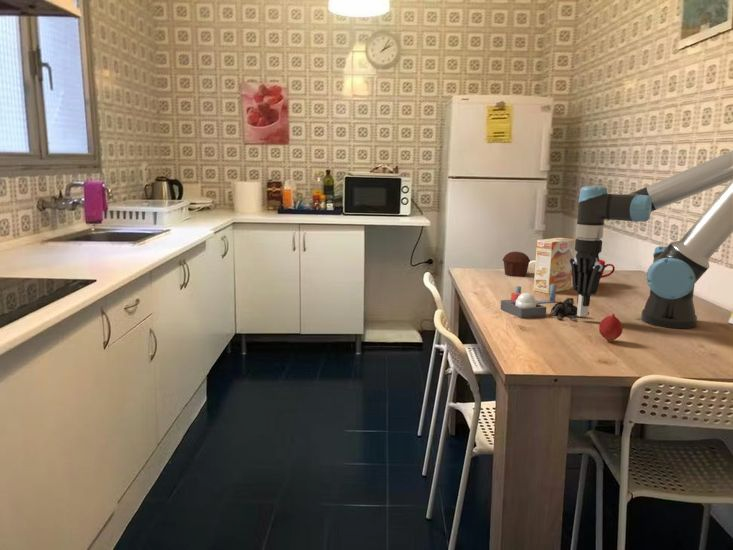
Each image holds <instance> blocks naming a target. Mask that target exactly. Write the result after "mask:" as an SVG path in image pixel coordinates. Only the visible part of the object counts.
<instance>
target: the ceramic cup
mask: <svg viewBox="0 0 733 550" xmlns="http://www.w3.org/2000/svg"><path fill="white" fill-rule="evenodd" d="M574 258H575V257H573V259H574ZM599 262H600V264H601V265H605V268H604V270H603V271H602V274H601V277H600V280H601V279H603V278H607V277H609V276H611V275H612V274H613V273H614V272H615V269H616V268H615V265H614V264H612V263H606V261H605V260H603V259H600V258H599ZM607 267H612V270H611V271H610V272H609V273H607V274H604V271H605V269H607ZM603 274H604V275H603ZM571 276H572V271H571Z"/></svg>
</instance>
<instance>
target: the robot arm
mask: <svg viewBox="0 0 733 550" xmlns="http://www.w3.org/2000/svg"><path fill="white" fill-rule="evenodd" d="M728 182H729V183H728ZM725 183H728V184H727V185H726V186H725V187H724V189H723V190H722V191H721V192H720V193H719V194H718V196H717V197H715V199H714V200H713V201H712V202H711V204H710V205H709V206H708V207H707V208H706V210H704V212H703V213H702V214H701V215H700V216H699V217H698V219H697V220H696V221H695V222H694V224H693V225H692V226H691V227H690V228H689V230H688V231H687V232H686V233H684V235H683V236H682V238H681V239H679V240H676V241H671V242H670V243H669V244H668V245H667V246H656V247H655V248H654V252H653V255H652V256H653V262H652V264H651V265H650V266H649V267H648V269H647V271H646V282H647V285H648V287H649V288H650V290H649V296H648V299H647V300H646V303H645V305H644V308H643V309H642V311H641V315H640V319H641V321H643V322H644V323H646V324H650V325H653V326H657V327H658V326H659V327H662V328H663V327H664V328H671V329H690V328H691V329H692V328H696V326H697V324H698V323H697V322H698V316H697V315H696V311H695V310H696V309H695V303H694V293H695V285H696V283H698V281H699V279H700V278H701V277H702V276H703V275H704V274H705V273H706V272H707V271H708V269H710V262H709V260H710V258H711V257H712V256H713V255H714V254H715V253H716V251H717V250H718V249H719V248H720V247H721V246H722V245H723V244H724V243H725V241H727V239H728V238H729V237H730V236H731V235H732V234H733V150H731V151H729V152H726V153H724V154H721V155H718V156H717V157H714V158H711V159H709V160H707V161H704V162H703V163H699V164H698V165H696V166H693V167H690V168H688V169H685V170H683V171H681V172H679V173H676V174H673V175H671V176H668V177H666V178H664V179H661V180H660V181H657V182H655V183H653V184H650V185H648V186H645V187H642V188H640V189H638V190H636V191H632V192H631V193H628V194H626V193H625V194H622V193H619V194H617V193H609V192H608V188H607V187H606V186H593V185H591V186H590V185H586V186H584V185H583V186H582V187H581V188H580V190H579V197H578V201H577V202H578V203H577V204H578V206H577V220H576V227H575V228H576V229H575V237H576V239H574V250H575V252H576V254H575V257H573V258H574V259H570V263H571V267H572V275H571V280H572V290H573V291H574V292H576V294H577V301H576V302H577V308H578V309H577V315H576V316H580V317H588V316H589V315H588V312H589V307H590V302H591V296H595V295H596V294H597V291H598V287H599V284H600V280H601V279H600V277H601V274H602V271H603V270H604V271H605V269H606V268H605V265H606V264H605V265H601V264H600V262H599V259H600V257H599V254H600V253H601V252H602V250H603V240H602V239H603V237H604V227H605V226H604V225H605V220H607V221H610V220H611V221H624V222H627V221H628V222H634V223H637V222H638V223H640V222H648V221H649V220H650V219H651V218H650V217H651V214H652V212H655V211H657V210H659V209H662V208H665V207H667V206H669V205H671V204H674V203H677V202H679V201H682V200H685V199H687V198H689V197H692V196H695V195H697V194H700V193H703V192H705V191H708V190H710V189H712V188H715V187H717V186H721V185H723V184H725ZM604 268H605V269H604ZM604 271H603V272H604Z"/></svg>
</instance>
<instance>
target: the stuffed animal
mask: <svg viewBox="0 0 733 550" xmlns="http://www.w3.org/2000/svg"><path fill="white" fill-rule="evenodd" d="M574 300H575V299H574V298H573V297H566V299H564V300H563V301H560V302H557V303H555V304H554V306H552V308H551V309H550V312H549V313H548V316H552V317H556V319H557V320H558V321H563V320H564V318H565V317H566V318H569V319H570V321H572V322H578V319H577V318H578V317H580V316H577V309H578V306H576V305H574V303H575V301H574ZM589 315H590V312H589V311H588V316H589Z"/></svg>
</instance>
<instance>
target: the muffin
mask: <svg viewBox="0 0 733 550" xmlns="http://www.w3.org/2000/svg"><path fill="white" fill-rule="evenodd" d="M502 261H503V267H504V268H503V269H504V275H506V276H507V277H513V278H514V277H515V278H522V277H526V276H527V274H528V270H529V265H530V262H531V260H530V257H529V256H528V254H526V253H524V252H521V251H511V252H508V253H506V254H505V255H504V256H503V258H502Z"/></svg>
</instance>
